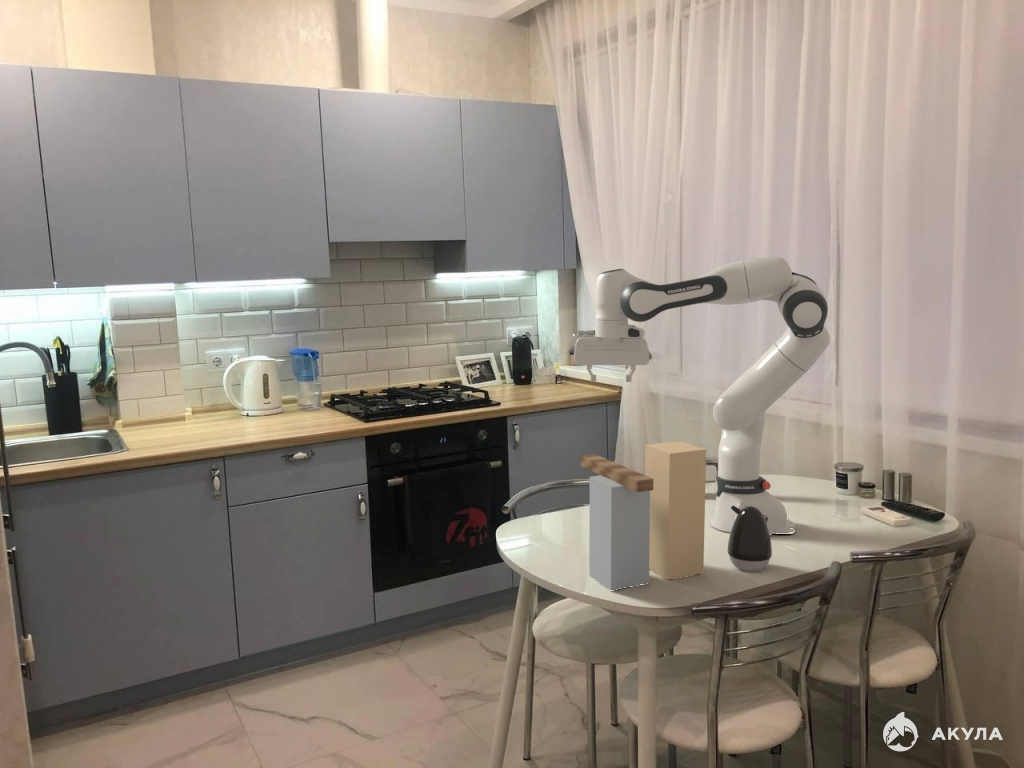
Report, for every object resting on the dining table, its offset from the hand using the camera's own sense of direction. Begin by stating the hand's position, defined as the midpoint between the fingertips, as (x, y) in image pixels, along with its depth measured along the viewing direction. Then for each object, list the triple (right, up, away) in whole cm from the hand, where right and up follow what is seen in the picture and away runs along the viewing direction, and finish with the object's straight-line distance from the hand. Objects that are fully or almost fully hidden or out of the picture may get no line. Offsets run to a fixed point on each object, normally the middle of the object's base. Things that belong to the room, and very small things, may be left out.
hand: (611, 381), depth 220 cm
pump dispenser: (+30, -45, -25) cm, 59 cm away
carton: (+12, -45, -25) cm, 53 cm away
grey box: (-2, -46, -31) cm, 56 cm away
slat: (-3, -22, -33) cm, 40 cm away
